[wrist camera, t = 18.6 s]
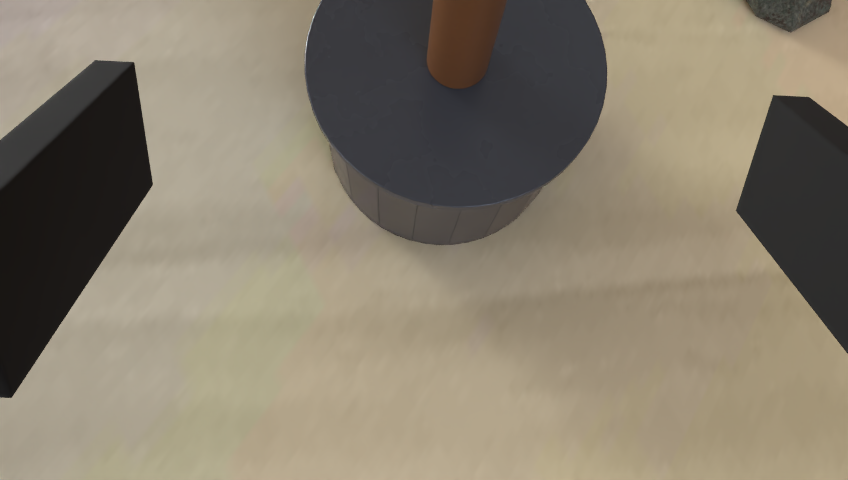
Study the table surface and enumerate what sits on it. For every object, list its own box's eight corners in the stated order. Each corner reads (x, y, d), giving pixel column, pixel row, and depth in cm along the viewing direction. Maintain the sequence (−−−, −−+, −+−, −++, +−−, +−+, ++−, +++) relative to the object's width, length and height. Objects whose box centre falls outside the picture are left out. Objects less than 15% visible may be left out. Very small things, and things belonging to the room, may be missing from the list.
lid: (254, 139, 33) (198, 20, 23) (382, -97, 36) (381, -291, 26) (535, 264, 32) (602, 196, 22) (640, 11, 35) (739, -146, 25)
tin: (292, 189, 41) (266, 128, 32) (387, 6, 44) (387, -95, 35) (499, 281, 40) (531, 245, 32) (581, 90, 43) (631, 8, 35)
